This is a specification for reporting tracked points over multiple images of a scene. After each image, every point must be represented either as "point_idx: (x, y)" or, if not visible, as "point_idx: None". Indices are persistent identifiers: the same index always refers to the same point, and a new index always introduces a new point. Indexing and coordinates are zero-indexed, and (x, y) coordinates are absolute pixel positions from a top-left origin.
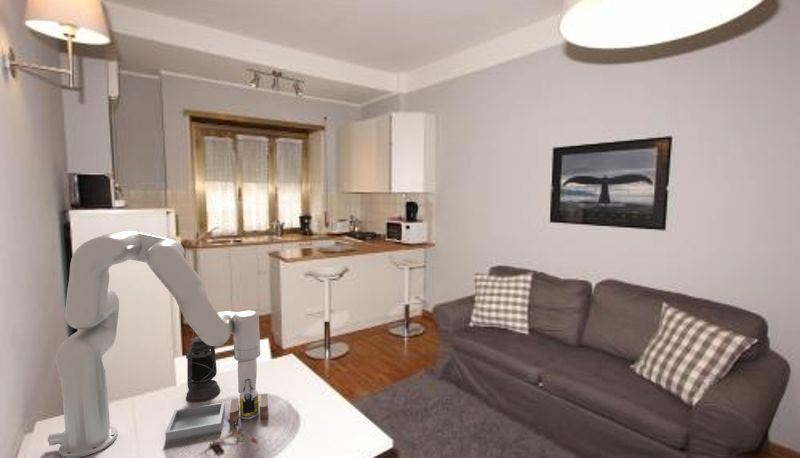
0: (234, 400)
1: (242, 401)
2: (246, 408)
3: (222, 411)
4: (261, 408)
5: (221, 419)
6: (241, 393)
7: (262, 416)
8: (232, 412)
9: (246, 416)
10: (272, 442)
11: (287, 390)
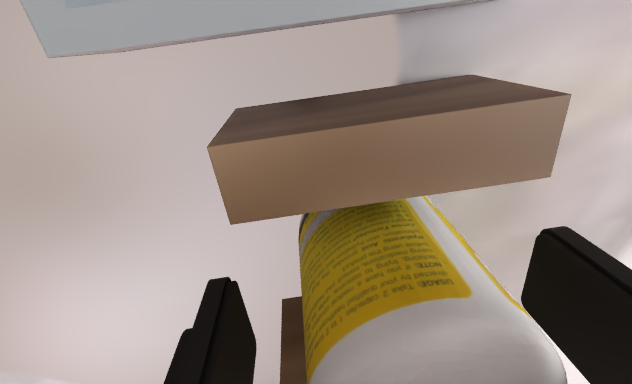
0: (514, 143)
1: (329, 313)
2: (177, 361)
3: (341, 10)
4: (282, 377)
5: (142, 45)
6: (436, 377)
7: (284, 321)
8: (219, 180)
9: (299, 234)
10: (45, 379)
11: (564, 362)
